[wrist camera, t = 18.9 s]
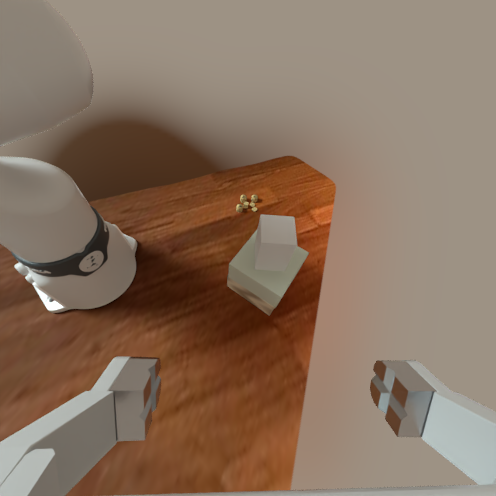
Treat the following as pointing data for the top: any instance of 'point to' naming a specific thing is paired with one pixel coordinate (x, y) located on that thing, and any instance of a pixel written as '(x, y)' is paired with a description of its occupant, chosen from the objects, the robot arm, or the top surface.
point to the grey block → (275, 242)
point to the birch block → (250, 296)
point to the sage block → (264, 273)
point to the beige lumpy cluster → (243, 200)
